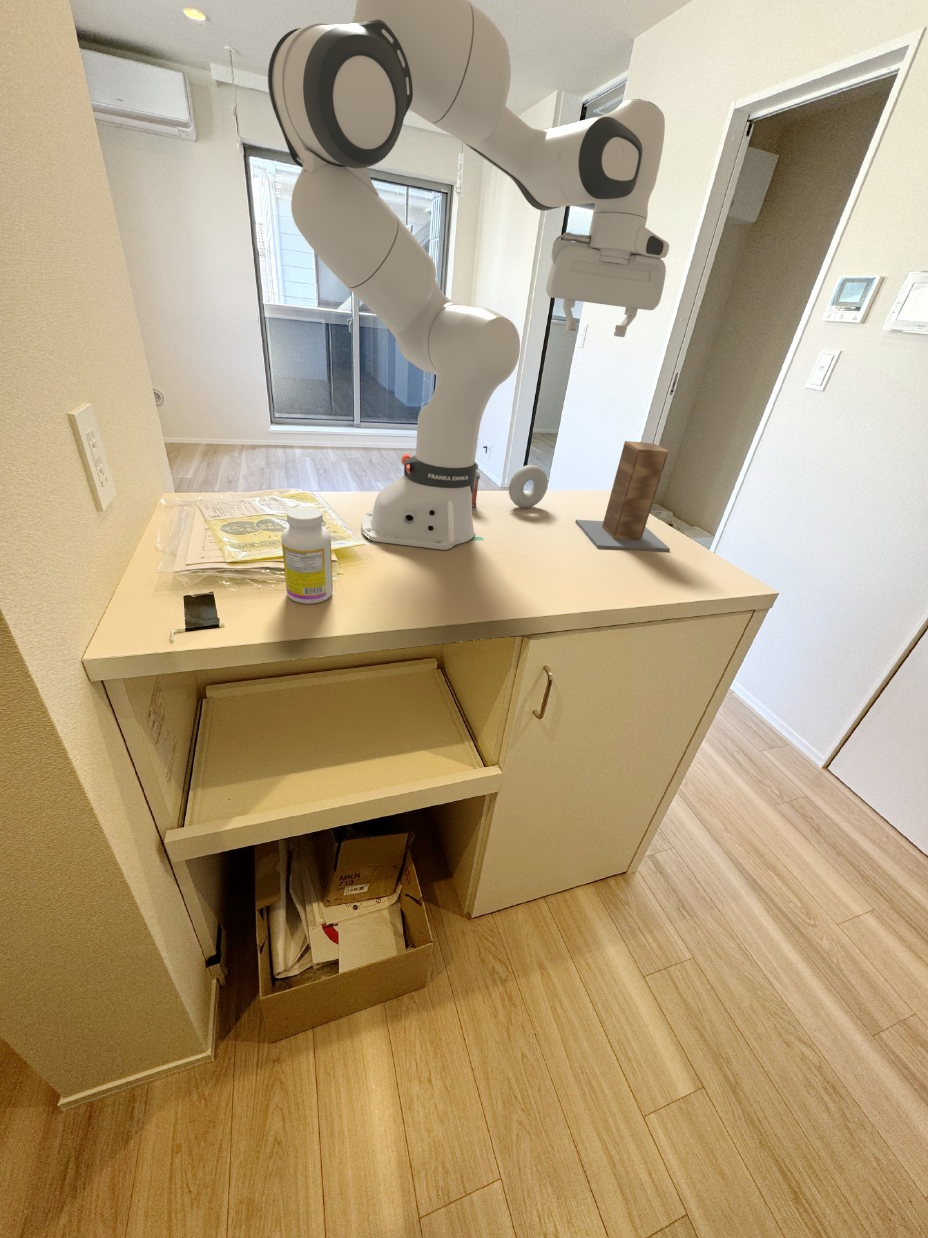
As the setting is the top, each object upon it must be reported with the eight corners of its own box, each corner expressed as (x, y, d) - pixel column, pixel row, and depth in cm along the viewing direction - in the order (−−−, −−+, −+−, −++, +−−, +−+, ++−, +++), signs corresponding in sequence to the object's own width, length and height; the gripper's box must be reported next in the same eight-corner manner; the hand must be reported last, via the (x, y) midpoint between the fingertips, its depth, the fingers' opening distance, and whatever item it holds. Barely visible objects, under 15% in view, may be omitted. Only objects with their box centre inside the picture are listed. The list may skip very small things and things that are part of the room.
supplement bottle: (305, 579, 79) (299, 500, 73) (341, 590, 78) (339, 510, 71) (276, 598, 74) (268, 514, 67) (315, 610, 72) (310, 525, 66)
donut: (538, 503, 123) (546, 462, 118) (546, 508, 121) (554, 466, 116) (502, 506, 119) (509, 463, 114) (510, 511, 117) (517, 467, 111)
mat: (597, 547, 103) (597, 545, 103) (575, 522, 115) (576, 519, 115) (668, 551, 106) (669, 548, 106) (640, 525, 118) (641, 523, 117)
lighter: (453, 496, 121) (457, 454, 116) (466, 496, 122) (471, 454, 117) (465, 508, 115) (470, 464, 110) (479, 508, 116) (484, 464, 111)
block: (612, 538, 107) (638, 448, 97) (602, 527, 112) (624, 440, 103) (640, 540, 108) (668, 451, 98) (628, 528, 113) (654, 443, 104)
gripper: (561, 228, 80) (544, 328, 88) (678, 246, 84) (653, 341, 91) (550, 232, 86) (535, 326, 93) (661, 249, 89) (638, 338, 96)
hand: (594, 333), depth 92 cm, fingers open, 8 cm apart
